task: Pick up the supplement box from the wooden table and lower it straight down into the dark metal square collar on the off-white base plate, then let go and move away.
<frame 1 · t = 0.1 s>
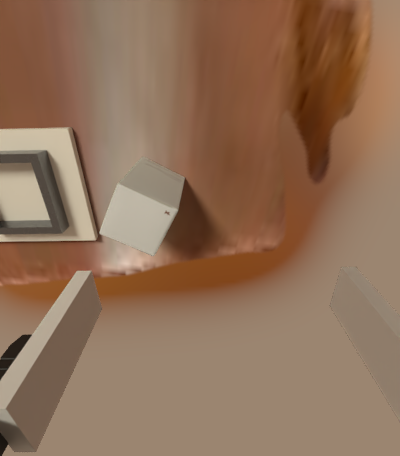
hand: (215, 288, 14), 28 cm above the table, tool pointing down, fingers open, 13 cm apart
base plate: (24, 189, 40), on the table
supplement box: (155, 186, 40), on the table
collar: (19, 191, 39), resting on base plate
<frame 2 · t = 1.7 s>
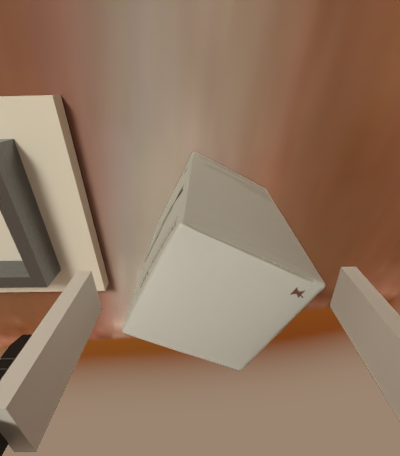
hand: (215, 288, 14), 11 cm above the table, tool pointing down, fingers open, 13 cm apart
supplement box: (210, 203, 23), on the table
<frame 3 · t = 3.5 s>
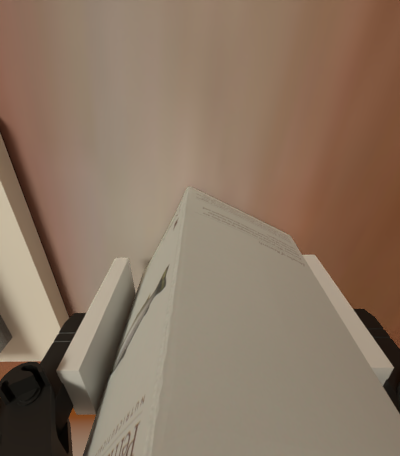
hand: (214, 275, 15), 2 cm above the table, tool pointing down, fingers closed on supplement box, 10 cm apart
supplement box: (212, 253, 17), on the table, touching gripper
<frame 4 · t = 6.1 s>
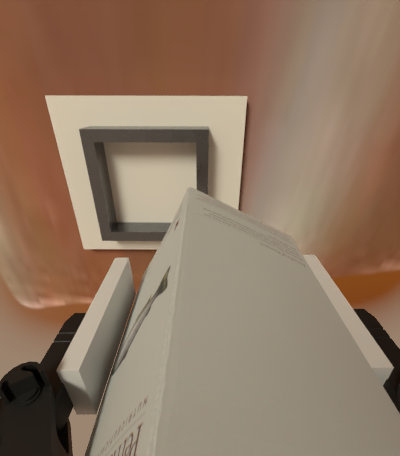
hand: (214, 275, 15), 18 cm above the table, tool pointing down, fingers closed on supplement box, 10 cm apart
base plate: (155, 180, 30), on the table
supplement box: (213, 253, 17), point 15 cm above the table, touching gripper
collar: (153, 183, 29), resting on base plate
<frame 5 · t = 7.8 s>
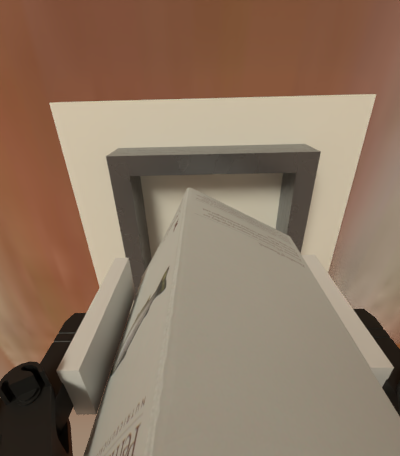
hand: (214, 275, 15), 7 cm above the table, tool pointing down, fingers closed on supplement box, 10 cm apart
base plate: (210, 221, 21), on the table
supplement box: (212, 253, 17), point 5 cm above the table, touching gripper
collar: (211, 228, 20), resting on base plate
when the fingers open (5 cm above the table, at t = 9.1 s): supplement box drops 1 cm, resting on base plate.
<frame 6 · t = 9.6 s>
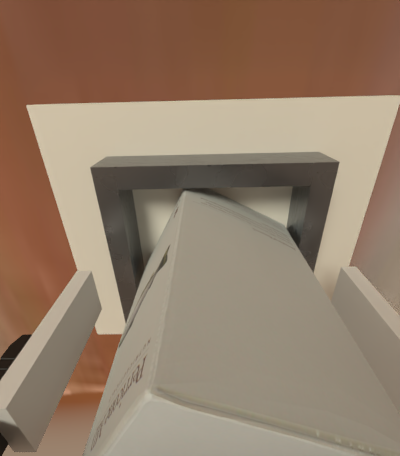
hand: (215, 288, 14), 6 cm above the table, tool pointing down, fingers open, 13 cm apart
base plate: (211, 235, 19), on the table
supplement box: (211, 242, 18), point 1 cm above the table, touching base plate
collar: (212, 244, 18), resting on base plate
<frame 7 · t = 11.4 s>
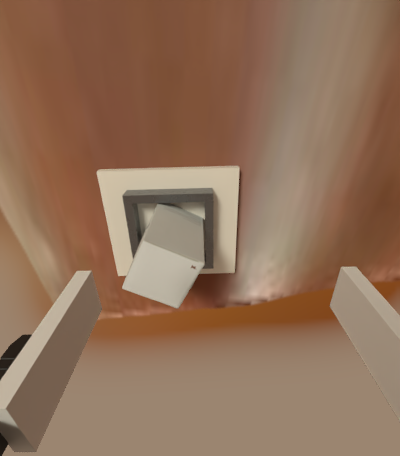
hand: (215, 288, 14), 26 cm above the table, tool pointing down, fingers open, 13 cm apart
base plate: (173, 224, 40), on the table
supplement box: (172, 226, 39), point 1 cm above the table, touching base plate
collar: (172, 227, 39), resting on base plate
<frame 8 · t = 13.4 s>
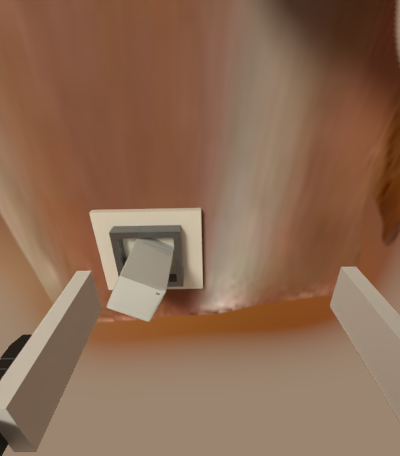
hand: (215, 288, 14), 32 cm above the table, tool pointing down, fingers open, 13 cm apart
base plate: (151, 250, 50), on the table
supplement box: (150, 253, 49), point 1 cm above the table, touching base plate
collar: (150, 253, 49), resting on base plate
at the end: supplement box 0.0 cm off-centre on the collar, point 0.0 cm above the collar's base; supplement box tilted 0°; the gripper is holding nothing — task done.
